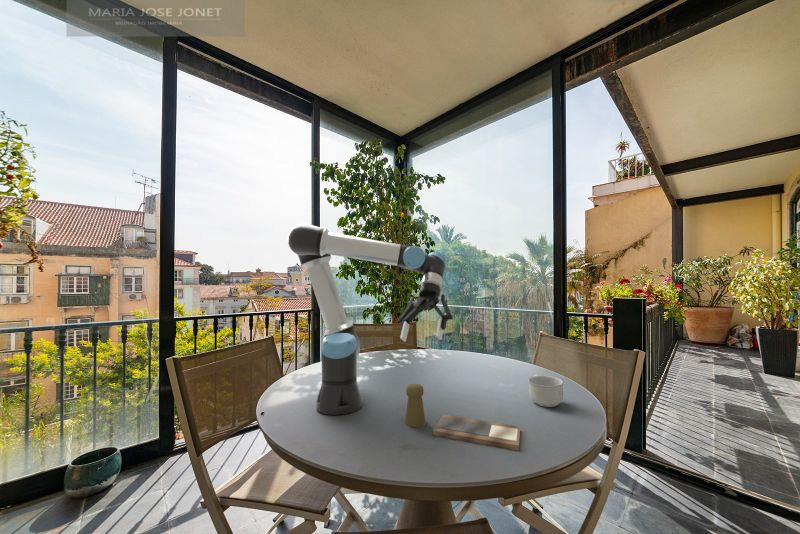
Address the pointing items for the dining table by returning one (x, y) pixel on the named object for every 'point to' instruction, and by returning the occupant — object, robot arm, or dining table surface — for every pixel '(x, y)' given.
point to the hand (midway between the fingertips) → (420, 339)
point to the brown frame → (478, 431)
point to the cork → (415, 406)
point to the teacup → (546, 390)
